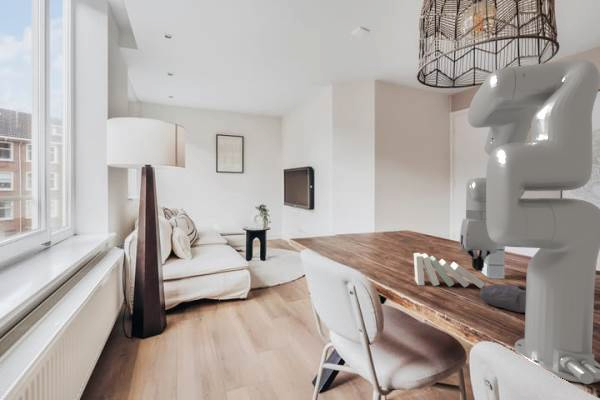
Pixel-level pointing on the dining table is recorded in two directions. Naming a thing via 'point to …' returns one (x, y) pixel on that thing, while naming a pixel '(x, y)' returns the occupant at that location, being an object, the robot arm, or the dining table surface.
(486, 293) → the perforated stone tool
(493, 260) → the syrup box
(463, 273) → the domino
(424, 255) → the domino
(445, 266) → the domino
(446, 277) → the domino
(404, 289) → the dining table surface
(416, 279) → the domino
